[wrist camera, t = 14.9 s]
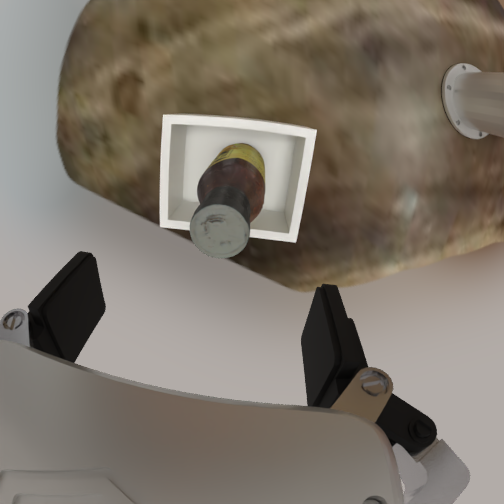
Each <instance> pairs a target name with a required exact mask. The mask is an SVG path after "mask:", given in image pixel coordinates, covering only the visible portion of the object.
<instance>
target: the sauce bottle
mask: <svg viewBox="0 0 504 504" xmlns="http://www.w3.org/2000/svg"><path fill="white" fill-rule="evenodd" d="M197 196H198V200H199V202H200V205H199V206H198V207H197V209H196V210H195V212H194V215H193V217H192V219H191V222H190V235H191V238H192V241H193V243H194V244H195V245H196V247H197V248H198V249H199V250H200V251H201V252H203V253H204V254H206V255H208V256H211V257H215V258H228V257H232V256H234V255H236V254H238V253H239V252H240V251H242V250H243V249H244V247H245V246H246V244H247V242H248V240H249V236H250V223H251V222H252V221H253V220H254V219H255V218H256V217H257V216H258V215H259V213H260V212H261V209H262V208H263V204H264V196H265V164H264V160H263V158H262V156H261V154H260V153H259V152H258V151H257V150H256V149H255V148H254V147H252V146H250V145H249V144H245V143H238V144H232V145H229V146H227V147H225V148H224V149H223V150H222V151H221V152H220V153H219V154H218V155H217V157H216V158H215V159H214V160H213V161H212V162H211V164H210V165H209V167H208V168H207V169H206V171H205V172H204V173H203V175H202V176H201V178H200V180H199V182H198V186H197Z"/></svg>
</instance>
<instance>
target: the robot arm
mask: <svg viewBox="0 0 504 504" xmlns="http://www.w3.org/2000/svg"><path fill="white" fill-rule="evenodd" d="M442 99H443V104H444V108H445V111H446V114H447V116H448V118H449V120H450V122H451V124H452V125H453V126H454V128H455V129H456V130H457V131H458V132H459V133H460V134H462V135H464V136H465V137H468V138H472V139H481V138H484V137H485V136H487V135H488V134H492V135H496V136H500V137H503V138H504V72H481V71H480V70H479V69H478V68H476V67H475V66H473V65H471V64H467V63H460V64H455V65H453V66H451V67H450V68H449V69H448V70H447V72H446V74H445V76H444V79H443V83H442ZM105 307H106V306H105V301H104V297H103V292H102V288H101V283H100V278H99V273H98V268H97V262H96V258H95V257H93V255H92V253H88V252H82V251H80V252H78V253H77V254H76V255H75V256H74V257H73V258H72V259H71V260H70V261H69V262H68V263H67V264H66V265H65V266H64V267H63V268H62V269H61V270H60V271H59V272H58V273H57V274H56V275H55V276H54V278H53V279H52V280H51V281H50V282H49V283H48V284H47V285H46V286H45V287H44V288H43V290H42V291H41V292H40V293H39V294H38V295H37V296H36V297H35V298H34V300H33V301H32V302H31V303H30V304H29V306H28V308H29V310H30V311H29V313H27V312H26V311H25V310H23V309H13V310H11V311H9V312H7V313H6V314H5V315H4V316H3V317H2V319H1V321H0V504H453V503H454V501H455V500H456V499H457V498H458V497H459V495H460V494H461V493H462V492H463V490H464V489H465V488H466V487H467V485H468V483H469V480H470V472H469V470H468V468H467V467H466V465H465V464H464V463H463V462H462V461H461V459H460V458H459V457H457V455H456V454H455V453H454V452H453V450H452V449H451V448H450V447H449V446H448V445H447V444H446V443H445V441H444V440H443V439H441V440H440V441H439V440H438V439H437V438H436V435H437V429H436V426H435V424H434V422H433V421H432V420H431V419H430V418H429V417H428V416H426V415H425V414H423V413H422V412H420V411H419V410H417V409H416V408H414V407H412V406H411V405H409V404H408V403H406V402H405V401H403V400H402V399H400V398H399V397H397V396H395V395H394V394H393V393H392V391H393V382H392V380H391V378H390V377H389V376H388V374H387V373H385V372H384V371H382V370H380V369H377V368H373V367H368V365H367V361H366V358H365V355H364V352H363V348H362V345H361V342H360V339H359V336H358V333H357V330H356V327H355V324H354V321H353V319H351V318H348V317H347V314H346V311H345V308H344V305H343V302H342V299H341V296H340V293H339V290H338V287H337V286H336V285H329V284H322V286H321V287H317V288H316V291H315V295H314V298H313V301H312V305H311V308H310V311H309V314H308V317H307V321H306V324H305V327H304V330H303V333H302V337H301V346H302V355H303V364H304V373H305V383H306V393H307V404H308V406H297V405H283V404H270V403H259V402H250V401H241V400H232V399H224V398H217V397H210V396H203V395H198V394H192V393H186V392H181V391H176V390H170V389H166V388H161V387H157V386H152V385H148V384H143V383H139V382H135V381H132V380H128V379H124V378H120V377H117V376H113V375H110V374H106V373H103V372H100V371H96V370H93V369H90V368H87V367H84V366H81V365H78V364H75V363H74V362H75V361H76V359H77V357H78V355H79V354H80V352H81V350H82V348H83V347H84V345H85V343H86V342H87V340H88V338H89V337H90V335H91V333H92V332H93V330H94V328H95V327H96V325H97V324H98V322H99V320H100V319H101V317H102V316H103V314H104V312H105ZM399 473H400V474H399ZM400 478H401V479H402V481H403V483H404V485H405V492H404V495H403V490H402V485H401V479H400Z"/></svg>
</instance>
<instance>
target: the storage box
mask: <svg viewBox="0 0 504 504" xmlns="http://www.w3.org/2000/svg"><path fill="white" fill-rule="evenodd" d="M316 132H317V130H315V129H312V128H309V127H306V126H301V125H295V124H289V123H282V122H275V121H268V120H260V119H252V118H243V117H232V116H220V115H205V114H168V115H163V125H162V141H161V164H160V227H165V228H174V229H184V230H190V222H191V219H192V217H193V215H194V212H195V210H196V209H197V207H198V206H199V205H200V202H199V200H198V196H197V186H198V182H199V180H200V178H201V176H202V175H203V173H204V172H205V171H206V169H207V168H208V167H209V165H210V164H211V162H212V161H213V160H214V159H215V158H216V157H217V155H218V154H219V153H220V152H221V151H222V150H223V149H224V148H225V147H227V146H229V145H232V144H238V143H245V144H249V145H250V146H252V147H254V148H255V149H256V150H257V151H258V152H259V153H260V154H261V156H262V158H263V160H264V164H265V196H264V204H263V208H262V209H261V212H260V213H259V215H258V216H257V217H256V218H255V219H254V220H253V221H252V222H251V223H250V236H249V237H254V238H263V239H271V240H279V241H288V242H296V240H297V235H298V230H299V226H300V221H301V216H302V210H303V205H304V200H305V195H306V189H307V184H308V179H309V173H310V167H311V162H312V156H313V150H314V144H315V138H316Z"/></svg>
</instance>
